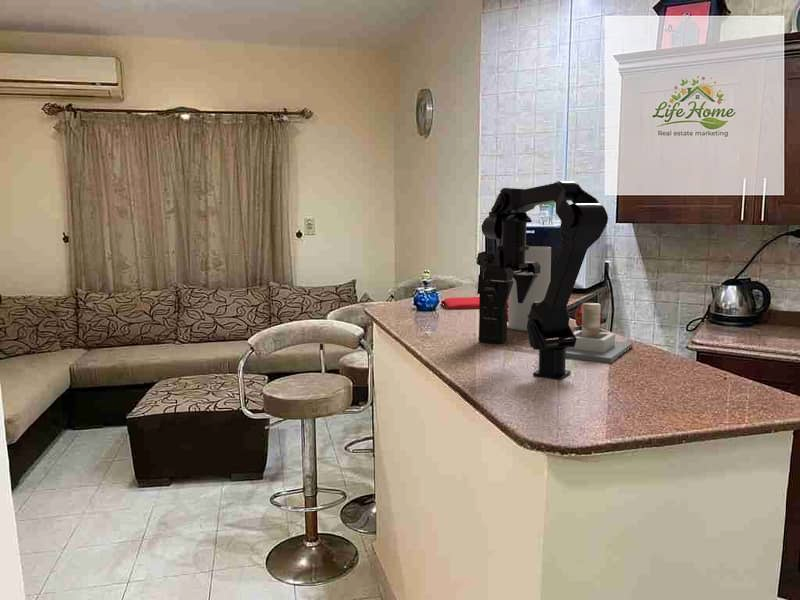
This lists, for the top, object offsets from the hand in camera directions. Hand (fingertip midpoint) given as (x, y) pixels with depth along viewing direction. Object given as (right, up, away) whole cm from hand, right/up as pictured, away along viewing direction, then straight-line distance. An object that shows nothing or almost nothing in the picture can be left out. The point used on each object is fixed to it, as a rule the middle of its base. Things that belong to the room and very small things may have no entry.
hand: (511, 305), depth 147 cm
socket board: (+22, -12, +9) cm, 26 cm away
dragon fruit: (+31, -8, +40) cm, 51 cm away
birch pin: (+22, -11, +9) cm, 26 cm away
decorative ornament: (+8, -6, +59) cm, 59 cm away
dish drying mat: (+10, -1, +90) cm, 90 cm away
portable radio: (-2, -10, +23) cm, 25 cm away
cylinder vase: (+13, -8, +42) cm, 44 cm away
